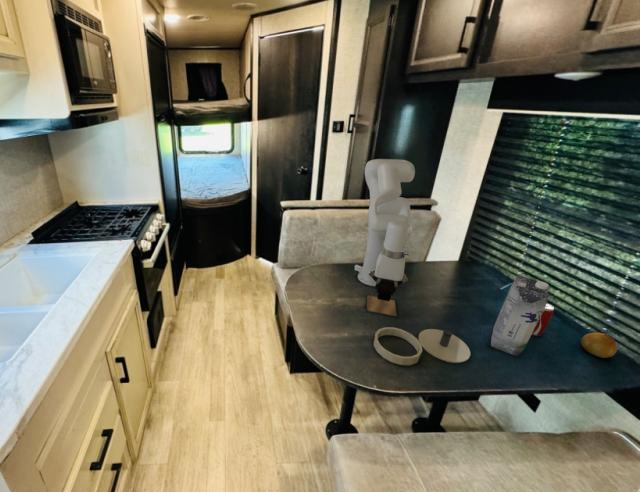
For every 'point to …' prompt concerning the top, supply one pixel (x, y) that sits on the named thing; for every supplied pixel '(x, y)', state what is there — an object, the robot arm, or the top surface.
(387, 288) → the block
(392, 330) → the cream hollow ring
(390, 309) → the trivet
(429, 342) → the lid
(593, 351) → the fruit
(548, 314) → the soda can
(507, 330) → the juice carton
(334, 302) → the top surface
